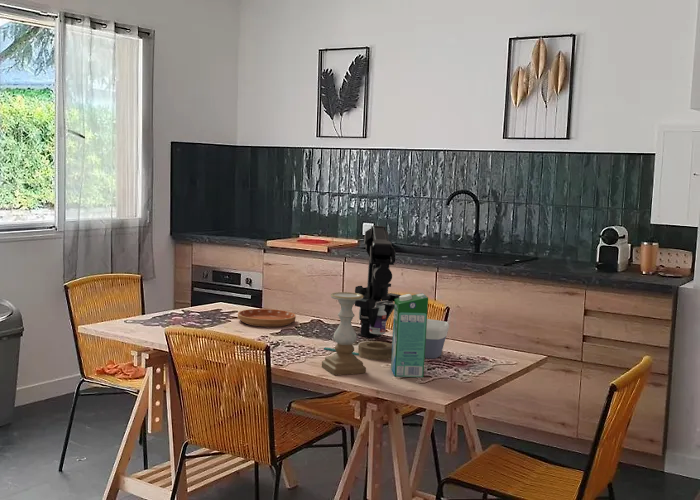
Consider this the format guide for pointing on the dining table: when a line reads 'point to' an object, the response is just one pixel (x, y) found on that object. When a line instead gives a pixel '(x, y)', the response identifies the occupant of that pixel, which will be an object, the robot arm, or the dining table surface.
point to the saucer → (266, 317)
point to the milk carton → (409, 335)
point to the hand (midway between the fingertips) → (377, 325)
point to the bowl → (435, 337)
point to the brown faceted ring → (375, 350)
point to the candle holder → (344, 339)
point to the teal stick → (335, 351)
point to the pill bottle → (379, 321)
